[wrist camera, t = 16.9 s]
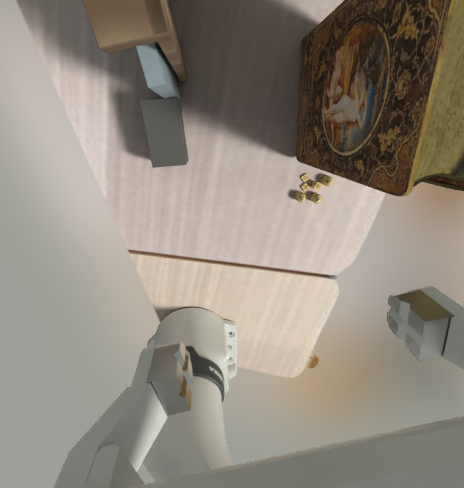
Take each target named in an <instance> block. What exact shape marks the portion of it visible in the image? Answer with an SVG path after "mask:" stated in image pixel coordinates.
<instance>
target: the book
mask: <svg viewBox="0 0 464 488" xmlns="http://www.w3.org/2000/svg"><path fill="white" fill-rule="evenodd" d="M296 157H297V160H298V161H299V162H301V163H304V164H307V165H310V166H312V167H315V168H318V169H321V170H324V171H326V172H329V173H332V174H335V175H338V176H340V177H343V178H346V179H349V180H352V181H354V182H357V183H360V184H363V185H366V186H368V187H371V188H374V189H377V190H380V191H382V192H385V193H389V194H392V195H395V196H407V195H408V194H410V193H411V191H412V189H413V187H414V186H415V185H417V184H418V183H420V182H426V183H429V184H434V185H438V186H442V187H446V188H450V189H455V190H461V191H464V0H344V1H343V2H342V3H341V4H340V5H339V6H338V7H337V8H336V9H335V10H334V11H333V12H332V13H331V14H329V15H328V16H327V17H326V18H325V19H324V20H323V21H322V22H321V23H320V24H319V25H318V26H317V27H316V28H315V29H313V30H312V31H311V32H310V33H309V34H308V35H307V36H306V37H305V38H304V39H303V41H302V42H301V56H300V78H299V99H298V121H297V146H296Z"/></svg>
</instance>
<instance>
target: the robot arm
mask: <svg viewBox="0 0 464 488" xmlns="http://www.w3.org/2000/svg"><path fill="white" fill-rule="evenodd" d="M388 304H389V305H390V306H391V309H390V310H389V311H388V312H387V321H388V324H389V327H390V329H391V330H392V332H393V333H394V334H395V335H396V336H397V337H398V338H400V339H403V340H405V346H406V348H407V349H408V350H409V351H410V352H411V353H412V354H413V355H414V356H415V357H416V359H417V360H418V361H421V360H426V359H431V358H437V357H443V358H444V359H446V360H448V361H450V362H452V363H454V364H455V365H457V366H459V367H461V368H463V369H464V308H463V307H461V306H460V305H459V304H457V303H456V302H454V301H453V300H451V299H450V298H449V297H447V296H446V295H444V294H443V293H441V292H440V291H439V290H437V289H436V288H434V287H431V286H428V287H424V288H419V289H416V290H411V291H407V292H403V293H398V294H394V295H390V297H389V298H388ZM230 332H231V333H230ZM147 347H148V348H144V349H143V351H142V352H141V355H140V359H139V362H138V365H137V368H136V372H135V375H134V378H133V382H132V385H131V387H128V388H126V390H124V392H123V393H122V394H121V395H120V396H119V397H118V398H117V399H116V400H115V402H114V403H113V404H112V405H111V406H110V407H109V408H108V409H107V410H106V412H105V413H104V414H103V415H102V416H101V417H100V418H99V420H98V421H97V422H96V423H95V424H94V425H93V426H92V427H91V428H90V430H89V431H88V432H87V433H86V434H85V435H84V436H83V437H82V438H81V439H80V441H79V442H78V443H77V444H76V445H75V446H74V447H73V448H72V449H71V451H70V452H69V453H68V456H67V458H66V460H65V463H64V465H63V467H62V470H61V472H60V474H59V476H58V479H57V481H56V484H55V486H54V488H464V416H461V417H456V418H452V419H447V420H442V421H438V422H433V423H428V424H424V425H419V426H414V427H409V428H405V429H400V430H395V431H391V432H386V433H381V434H376V435H372V436H367V437H362V438H358V439H353V440H348V441H344V442H339V443H334V444H329V445H325V446H320V447H315V448H311V449H306V450H301V451H297V452H292V453H287V454H283V455H278V456H273V457H269V458H264V459H259V460H255V461H250V462H245V463H240V464H236V465H233V464H232V462H231V459H230V457H229V453H228V449H227V444H226V439H225V432H224V423H223V412H222V403H223V399H224V394H225V393H226V392H227V391H228V389H229V387H228V380H230V379H232V378H233V377H234V376H235V375H236V373H237V326H236V324H235V323H234V322H231V321H228V320H224V319H222V318H220V317H219V316H217V315H216V314H214V313H212V312H210V311H208V310H205V309H201V308H184V309H180V310H177V311H174V312H172V313H170V314H169V315H167V316H166V317H165V318H164V319H163V320H162V321H161V323H160V324H159V326H158V329H157V332H156V334H155V335H154V336H153V337H152V338H151V339H150V340H149V341H148V345H147ZM142 461H143V462H144V465H145V467H146V469H147V471H148V472H149V473H150V475H151V476H152V477H153V478H154V479H155V480H156V482H152V483H147V484H144V482H143V481H142V479H141V478H140V476H139V475H138V474H137V470H138V469H139V467H140V465H141V463H142Z"/></svg>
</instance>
